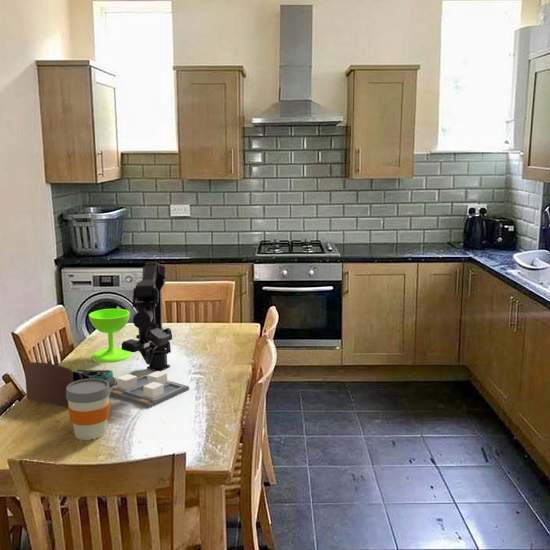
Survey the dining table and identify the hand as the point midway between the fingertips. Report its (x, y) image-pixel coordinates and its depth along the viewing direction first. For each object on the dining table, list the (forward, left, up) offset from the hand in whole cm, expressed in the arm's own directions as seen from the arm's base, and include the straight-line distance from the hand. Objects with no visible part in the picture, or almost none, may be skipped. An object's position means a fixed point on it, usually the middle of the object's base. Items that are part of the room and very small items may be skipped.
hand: (148, 364), depth 212 cm
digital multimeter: (+3, -27, -11) cm, 29 cm away
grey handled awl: (+7, -14, -9) cm, 18 cm away
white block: (+4, -7, -9) cm, 12 cm away
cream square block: (+4, +6, -9) cm, 12 cm away
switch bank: (0, 0, -10) cm, 10 cm away
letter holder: (+21, -21, -11) cm, 32 cm away
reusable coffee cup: (+33, +9, -10) cm, 35 cm away
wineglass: (-18, -41, -10) cm, 46 cm away
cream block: (-4, 0, -9) cm, 10 cm away
